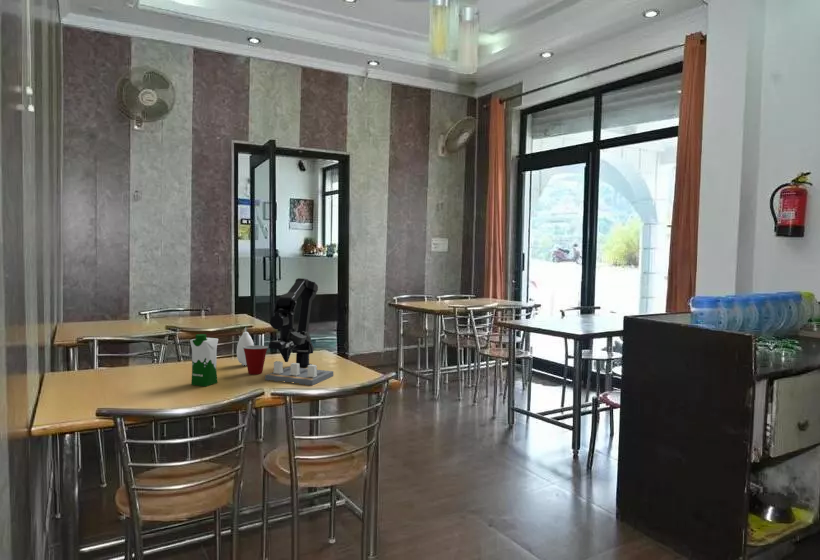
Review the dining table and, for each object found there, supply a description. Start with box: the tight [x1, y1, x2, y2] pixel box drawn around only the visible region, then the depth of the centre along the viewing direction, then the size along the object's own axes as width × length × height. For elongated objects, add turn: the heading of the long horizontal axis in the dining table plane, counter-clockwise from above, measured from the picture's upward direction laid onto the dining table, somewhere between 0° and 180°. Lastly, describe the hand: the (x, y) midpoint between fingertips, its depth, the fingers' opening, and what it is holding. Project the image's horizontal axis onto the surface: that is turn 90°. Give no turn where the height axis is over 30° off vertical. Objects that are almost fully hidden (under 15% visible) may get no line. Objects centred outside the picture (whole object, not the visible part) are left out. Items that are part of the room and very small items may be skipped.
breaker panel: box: [264, 366, 334, 386], centre depth 237 cm, size 18×22×2 cm
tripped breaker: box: [272, 360, 284, 374], centre depth 235 cm, size 3×3×5 cm
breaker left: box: [307, 364, 318, 378], centre depth 230 cm, size 3×3×5 cm
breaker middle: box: [290, 362, 301, 376], centre depth 233 cm, size 3×3×5 cm
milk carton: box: [189, 333, 219, 388], centre depth 223 cm, size 9×9×20 cm
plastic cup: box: [243, 344, 269, 375], centre depth 244 cm, size 11×11×12 cm
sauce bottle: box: [236, 326, 255, 367], centre depth 258 cm, size 8×8×18 cm
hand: (286, 362), depth 242 cm, fingers closed
